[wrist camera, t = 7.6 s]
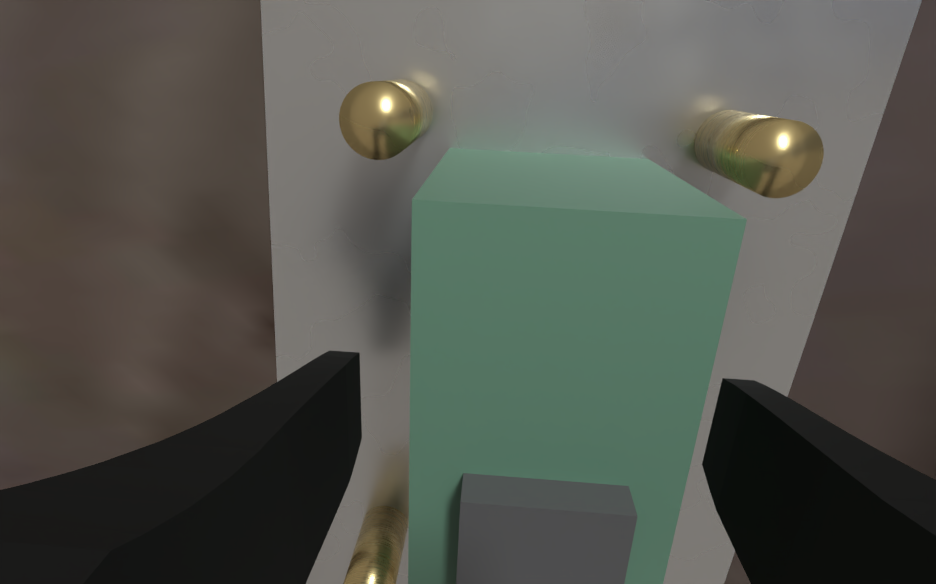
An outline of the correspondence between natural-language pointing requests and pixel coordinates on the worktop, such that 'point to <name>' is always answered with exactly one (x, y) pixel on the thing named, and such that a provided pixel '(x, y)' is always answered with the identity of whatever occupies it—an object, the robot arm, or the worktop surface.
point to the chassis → (555, 132)
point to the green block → (558, 364)
